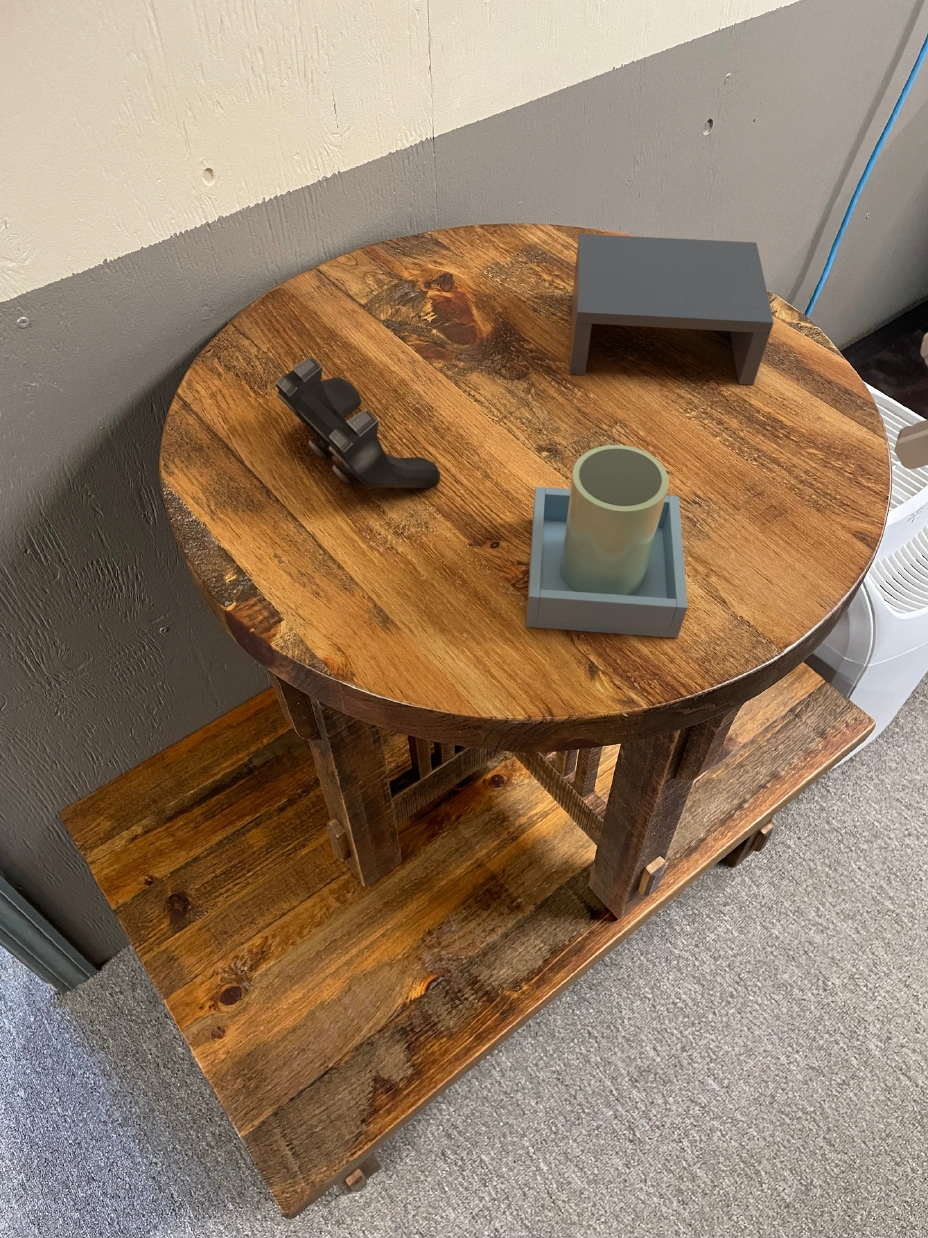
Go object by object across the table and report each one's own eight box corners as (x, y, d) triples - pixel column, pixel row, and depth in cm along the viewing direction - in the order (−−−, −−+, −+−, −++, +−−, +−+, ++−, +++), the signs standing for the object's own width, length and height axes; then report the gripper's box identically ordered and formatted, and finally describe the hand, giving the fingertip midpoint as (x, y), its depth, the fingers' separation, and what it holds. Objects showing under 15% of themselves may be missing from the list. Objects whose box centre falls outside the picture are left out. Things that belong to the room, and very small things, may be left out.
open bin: (669, 528, 73) (678, 495, 70) (677, 638, 66) (688, 607, 63) (532, 518, 74) (535, 486, 71) (525, 627, 67) (528, 596, 64)
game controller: (302, 437, 84) (241, 380, 75) (352, 387, 83) (296, 323, 75) (397, 536, 76) (340, 485, 67) (452, 481, 75) (402, 422, 67)
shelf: (739, 303, 93) (756, 242, 88) (753, 385, 85) (774, 322, 79) (572, 295, 94) (578, 233, 89) (569, 374, 86) (577, 311, 80)
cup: (643, 540, 71) (666, 446, 63) (646, 605, 67) (671, 513, 59) (560, 535, 71) (573, 440, 63) (558, 598, 67) (571, 506, 59)
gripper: (1205, 126, 43) (916, 262, 53) (1227, 352, 31) (855, 469, 42) (1241, 234, 45) (958, 344, 55) (1274, 479, 34) (911, 560, 44)
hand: (913, 399), depth 48 cm, fingers open, 8 cm apart
